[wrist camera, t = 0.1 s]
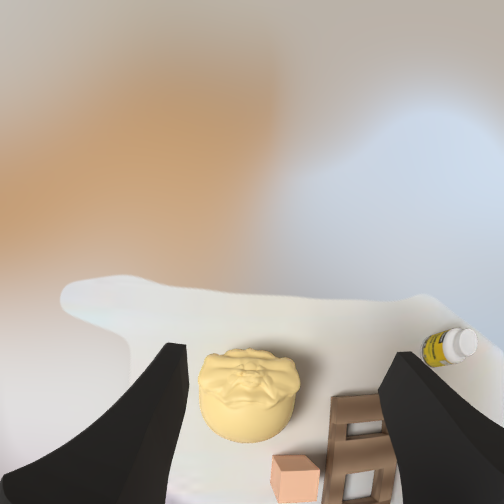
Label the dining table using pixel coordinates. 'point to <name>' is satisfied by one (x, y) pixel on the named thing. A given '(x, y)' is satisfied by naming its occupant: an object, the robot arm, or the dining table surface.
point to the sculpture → (247, 394)
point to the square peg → (294, 478)
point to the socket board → (358, 451)
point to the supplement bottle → (449, 347)
